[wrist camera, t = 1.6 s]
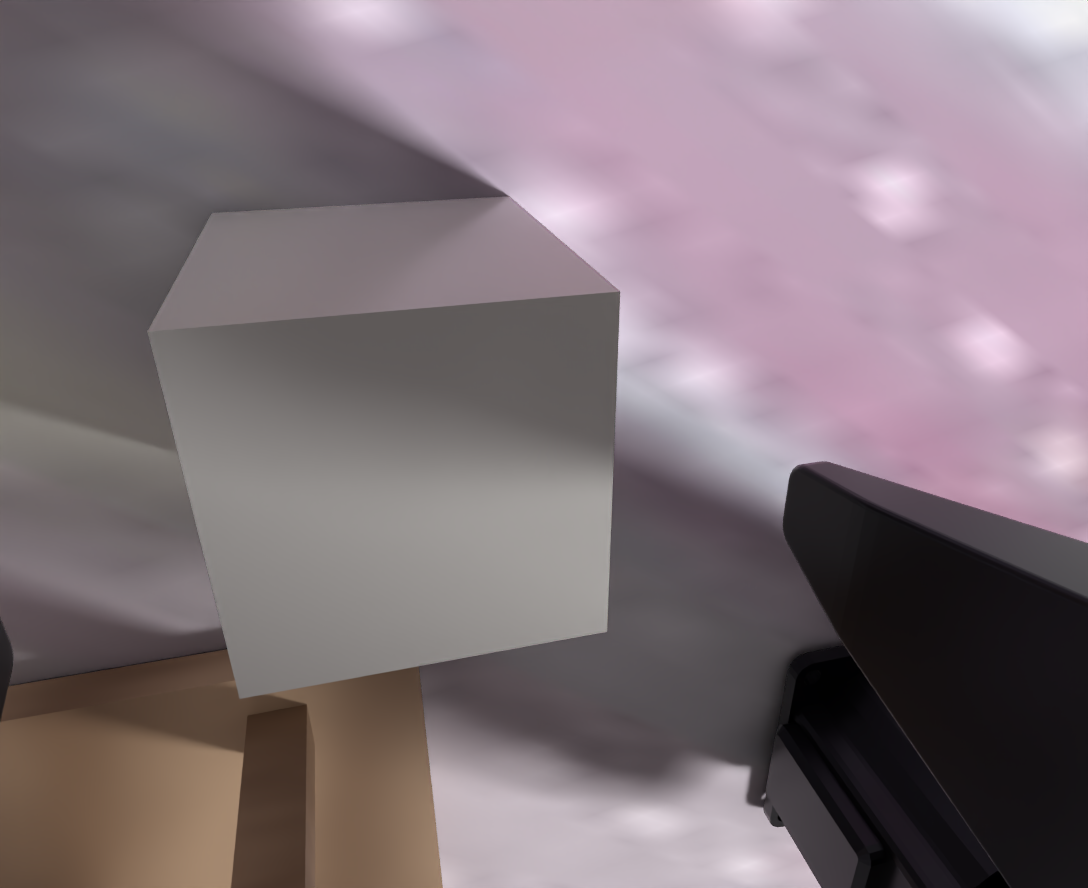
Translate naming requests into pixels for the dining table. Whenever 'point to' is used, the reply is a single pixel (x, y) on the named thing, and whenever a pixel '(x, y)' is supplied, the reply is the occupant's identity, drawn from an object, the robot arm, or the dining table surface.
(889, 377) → the dining table surface
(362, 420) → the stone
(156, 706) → the trapdoor stand
